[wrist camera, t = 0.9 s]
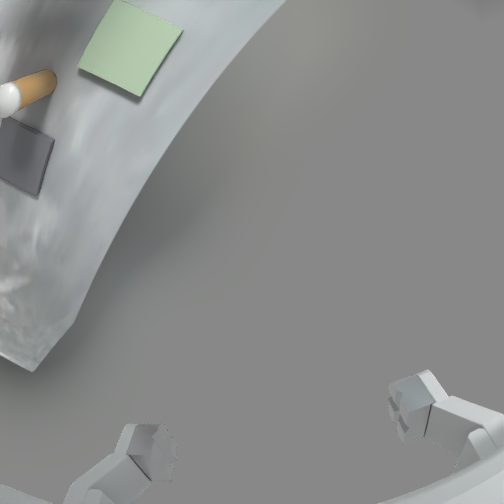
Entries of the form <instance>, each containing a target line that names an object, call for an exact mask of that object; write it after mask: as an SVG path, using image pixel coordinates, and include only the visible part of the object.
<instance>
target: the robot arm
mask: <svg viewBox="0 0 504 504" xmlns="http://www.w3.org/2000/svg"><path fill="white" fill-rule="evenodd" d="M389 392H390V394H391V397H390V398H389V399H388V408H389V414H390V417H391V419H392V422H393V423H395V424H397V425H398V426H397V433H398V435H399V437H400V439H401V441H402V444H405V443H408V442H411V441H413V440H416V439H419V438H422V437H424V436H425V438H426V439H427V440H429V441H431V442H433V443H434V444H436V445H438V446H439V447H441V448H442V449H444V450H445V451H447V452H449V453H451V454H452V455H454V456H456V457H457V458H459V459H458V461H457V463H456V465H455V467H454V469H453V471H452V475H450V476H448V477H446V478H444V479H441V480H439V481H437V482H435V483H433V484H430V485H428V486H425V487H423V488H420V489H418V490H416V491H413V492H410V493H407V494H405V495H402V496H399V497H396V498H394V499H391V500H388V501H384V502H381V503H378V504H504V415H503V414H501V413H498V412H495V411H493V410H490V409H487V408H484V407H481V406H479V405H476V404H473V403H471V402H468V401H465V400H462V399H460V398H457V397H454V396H450V397H448V395H447V394H446V392H445V391H444V389H443V388H442V387H441V385H440V384H439V382H438V381H437V380H436V378H435V377H434V375H433V374H432V373H431V371H429V370H425V371H423V372H420V373H418V374H415V375H412V376H410V377H407V378H404V379H401V380H398V381H395V382H392V383H390V385H389ZM167 431H168V430H167V428H166V427H165V425H164V424H127V425H126V426H125V427H124V429H123V431H122V434H121V436H120V439H119V441H118V444H117V447H116V449H115V451H114V454H110V455H108V456H107V457H106V458H105V459H103V460H102V461H101V462H99V463H98V464H97V465H95V466H94V467H93V468H92V469H90V470H89V471H88V472H86V473H85V474H84V475H82V476H81V477H80V478H78V479H77V480H76V481H74V482H73V483H72V484H71V486H70V488H69V490H68V493H67V495H66V497H65V500H64V502H63V504H133V503H134V501H135V500H136V499H137V498H138V497H139V496H140V495H141V494H142V493H143V491H144V490H145V489H146V488H147V487H148V486H149V485H150V484H151V481H157V482H158V481H159V482H160V481H161V482H171V481H172V476H173V472H174V467H173V466H172V463H173V462H174V461H175V460H176V457H177V446H176V443H175V441H174V439H173V437H171V436H169V435H168V434H167ZM0 504H53V503H50V502H47V501H44V500H41V499H39V498H36V497H33V496H30V495H28V494H25V493H23V492H20V491H18V490H15V489H13V488H11V487H8V486H6V485H2V484H0Z"/></svg>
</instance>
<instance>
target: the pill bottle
mask: <svg viewBox="0 0 504 504" xmlns="http://www.w3.org/2000/svg"><path fill="white" fill-rule="evenodd" d="M56 83H57V79H56V75H55V74H54V72H53V71H51V70H47V69H46V70H42V71H39V72H36V73H33V74H31V75H28V76H25V77H22V78H20V79H17V80H15V81H12V82H8V83H6V84H3V85H1V86H0V118H7V117H9V116H10V115H12V114H14V113H15V112H17V111H18V110H20V109H22V108H24V107H25V106H27V105H29V104H31V103H33V102H35V101H37V100H39V99H41V98H43V97H45V96H47V95H49V94H51V93H52V92H53V91H54V89H55V87H56Z"/></svg>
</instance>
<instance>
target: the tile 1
mask: <svg viewBox="0 0 504 504" xmlns="http://www.w3.org/2000/svg"><path fill="white" fill-rule="evenodd" d="M54 141H55V139H53V138H51V137H49V136H47V135H45V134H43V133H41V132H39V131H37V130H35V129H33V128H31V127H28V126H26V125H24V124H22V123H20V122H18V121H16V120H14V119H12V118H10V117H7V118H3V120H2V124H1V128H0V177H1V178H3V179H4V180H6V181H8V182H10V183H12V184H14V185H15V186H17V187H19V188H21V189H23V190H25V191H27V192H29V193H31V194H32V195H34V196H37V195H38V193H39V191H40V187H41V183H42V180H43V176H44V173H45V169H46V166H47V163H48V159H49V156H50V153H51V150H52V147H53V144H54Z"/></svg>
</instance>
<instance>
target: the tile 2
mask: <svg viewBox="0 0 504 504" xmlns="http://www.w3.org/2000/svg"><path fill="white" fill-rule="evenodd" d="M183 31H184V30H183V29H181V28H179V27H177V26H175V25H173V24H171V23H169V22H167V21H165V20H163V19H161V18H159V17H157V16H155V15H153V14H151V13H149V12H146V11H144V10H142V9H140V8H137V7H135V6H133V5H130V4H128V3H126V2H123V1H121V0H114V1H113V3H112V4H111V6H110V7H109V9H108V10H107V12H106V14H105V15H104V17H103V19H102V20H101V22H100V24H99V25H98V27H97V29H96V31H95V33H94V34H93V36H92V38H91V40H90V42H89V44H88V45H87V47H86V49H85V51H84V53H83V55H82V57H81V59H80V61H79V63H78V65H77V67H79V68H81V69H83V70H86V71H88V72H90V73H92V74H94V75H96V76H98V77H101V78H103V79H105V80H107V81H109V82H111V83H113V84H115V85H117V86H119V87H121V88H123V89H125V90H127V91H129V92H131V93H133V94H135V95H137V96H139V97H140V96H142V94H143V93H144V91H145V89H146V87H147V86H148V84H149V82H150V81H151V79H152V77H153V76H154V74H155V73H156V71H157V69H158V68H159V66H160V65H161V63H162V61H163V60H164V58H165V57H166V55H167V54H168V52H169V51H170V49H171V48H172V46H173V45H174V43H175V42H176V40H177V39H178V38H179V36H180V35H181V33H182V32H183Z"/></svg>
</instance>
